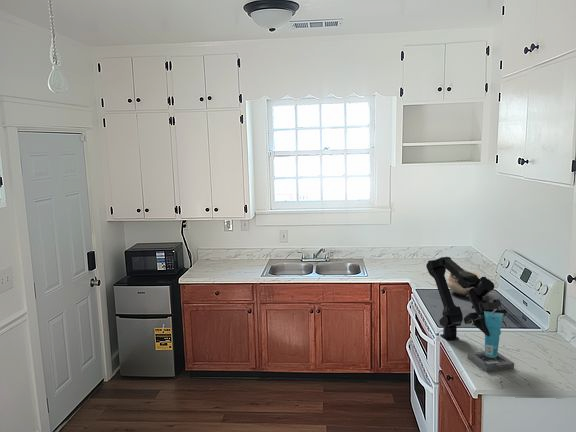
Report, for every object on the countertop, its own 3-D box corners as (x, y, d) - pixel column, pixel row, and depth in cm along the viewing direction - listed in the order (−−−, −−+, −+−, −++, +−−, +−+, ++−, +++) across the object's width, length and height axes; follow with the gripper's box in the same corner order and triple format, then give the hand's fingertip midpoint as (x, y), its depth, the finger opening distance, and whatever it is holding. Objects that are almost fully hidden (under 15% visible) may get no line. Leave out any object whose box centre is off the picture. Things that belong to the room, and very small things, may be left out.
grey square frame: (467, 358, 209) (467, 353, 209) (493, 355, 212) (494, 349, 212) (486, 372, 197) (486, 366, 196) (513, 368, 200) (514, 363, 199)
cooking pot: (484, 301, 280) (485, 281, 278) (450, 300, 283) (451, 280, 281) (474, 288, 304) (475, 269, 302) (443, 287, 307) (444, 268, 305)
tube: (499, 353, 205) (502, 311, 202) (501, 359, 201) (504, 315, 197) (480, 351, 207) (483, 309, 204) (481, 357, 203) (484, 313, 199)
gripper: (469, 295, 201) (486, 330, 192) (506, 290, 206) (524, 324, 198) (456, 306, 209) (471, 341, 201) (492, 301, 215) (508, 335, 206)
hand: (494, 335), depth 201 cm, fingers closed on tube, 5 cm apart
